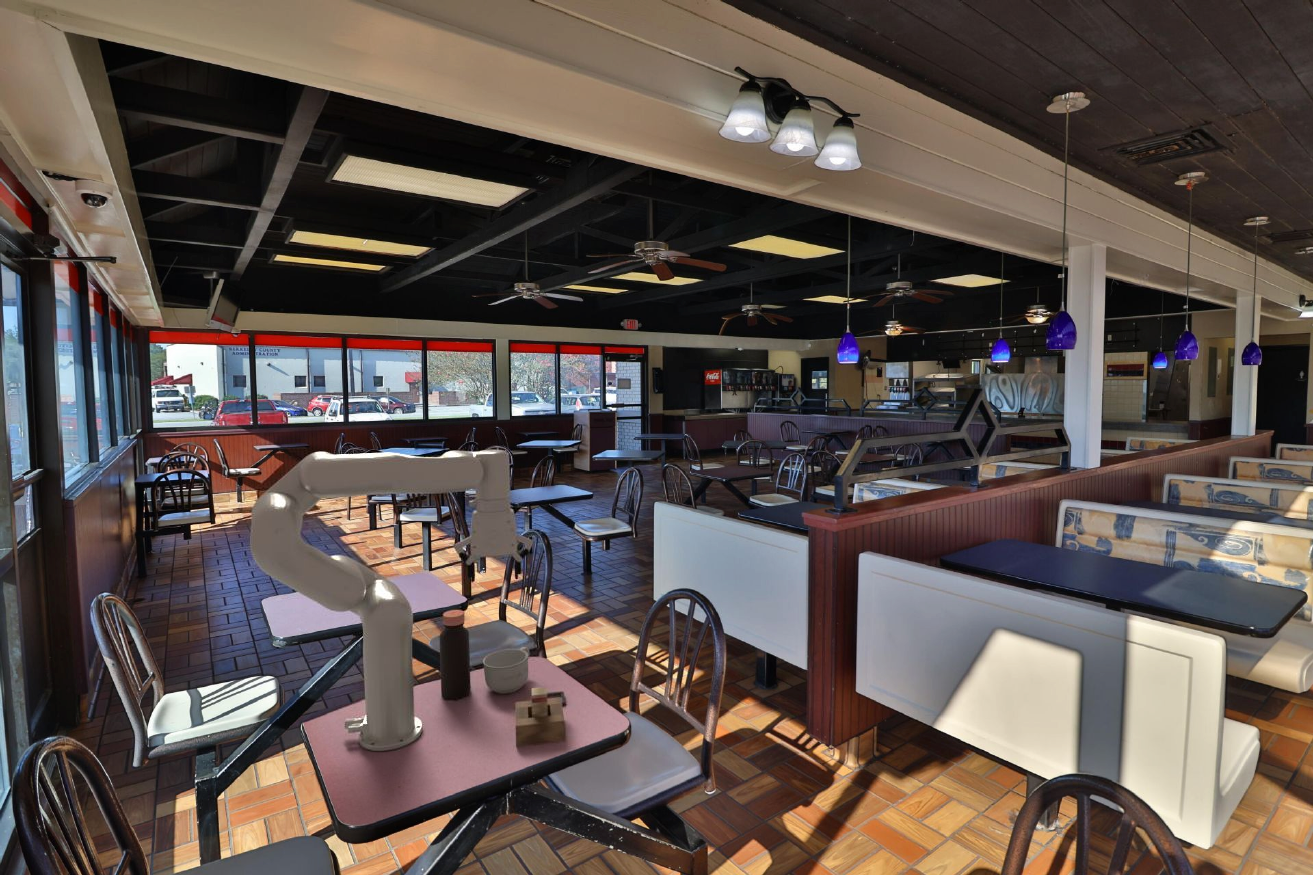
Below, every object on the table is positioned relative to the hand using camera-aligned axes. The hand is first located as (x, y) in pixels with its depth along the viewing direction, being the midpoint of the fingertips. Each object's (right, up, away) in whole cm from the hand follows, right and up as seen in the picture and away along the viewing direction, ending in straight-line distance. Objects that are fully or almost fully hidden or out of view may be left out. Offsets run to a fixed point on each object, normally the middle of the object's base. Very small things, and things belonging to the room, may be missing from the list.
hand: (494, 578), depth 150 cm
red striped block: (+12, -31, -7) cm, 34 cm away
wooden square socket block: (+12, -31, -8) cm, 34 cm away
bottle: (-11, -30, +9) cm, 33 cm away
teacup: (+1, -29, +13) cm, 32 cm away
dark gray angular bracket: (+11, -30, +5) cm, 32 cm away
